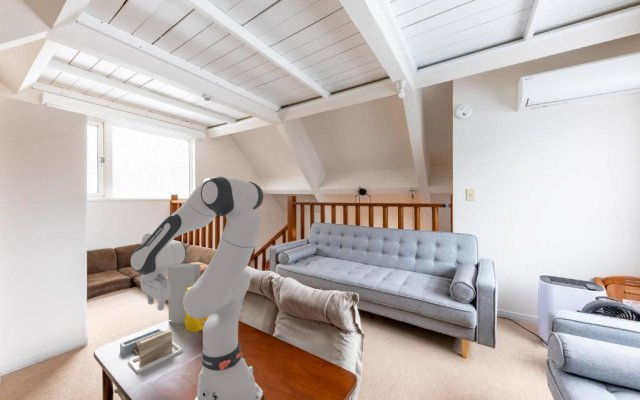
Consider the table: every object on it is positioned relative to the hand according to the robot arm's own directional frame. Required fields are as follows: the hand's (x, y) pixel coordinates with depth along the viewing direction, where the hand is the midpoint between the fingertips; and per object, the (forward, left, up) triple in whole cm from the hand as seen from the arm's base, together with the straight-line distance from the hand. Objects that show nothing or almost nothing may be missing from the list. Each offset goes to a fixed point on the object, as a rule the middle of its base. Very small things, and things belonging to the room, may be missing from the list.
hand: (155, 306), depth 101 cm
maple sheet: (0, 0, -21) cm, 21 cm away
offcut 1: (+9, 0, -20) cm, 22 cm away
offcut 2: (+9, +1, -18) cm, 20 cm away
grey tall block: (+21, -21, -22) cm, 36 cm away
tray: (0, 0, -21) cm, 21 cm away
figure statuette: (+9, -20, -22) cm, 31 cm away
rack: (+11, 0, -21) cm, 24 cm away
